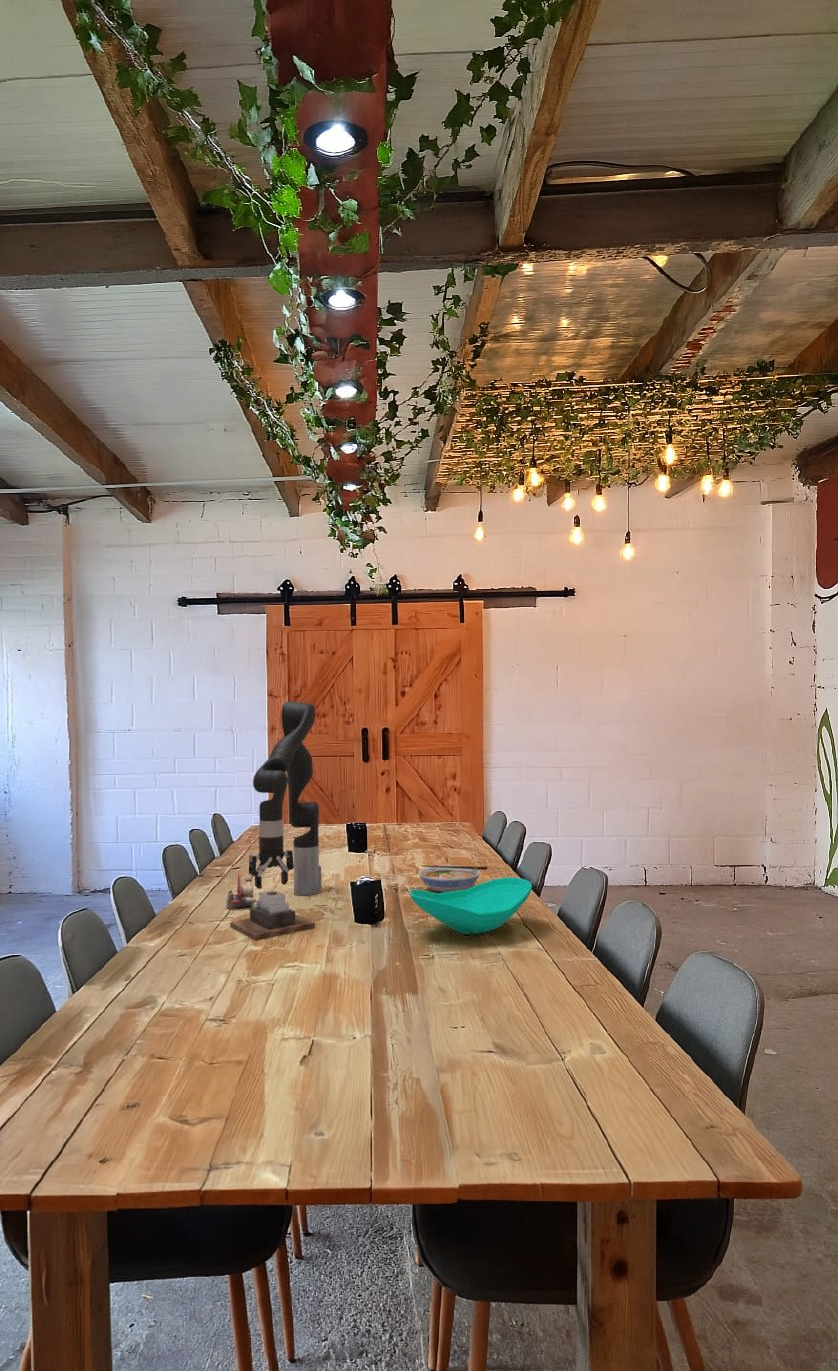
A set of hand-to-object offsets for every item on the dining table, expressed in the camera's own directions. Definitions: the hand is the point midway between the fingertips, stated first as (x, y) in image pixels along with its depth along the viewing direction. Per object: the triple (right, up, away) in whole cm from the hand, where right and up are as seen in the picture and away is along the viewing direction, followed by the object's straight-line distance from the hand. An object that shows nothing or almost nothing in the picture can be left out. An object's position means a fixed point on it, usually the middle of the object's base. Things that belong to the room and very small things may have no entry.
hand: (271, 886), depth 242 cm
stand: (0, -13, 0) cm, 13 cm away
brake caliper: (-15, -14, +25) cm, 33 cm away
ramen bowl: (+57, -13, +41) cm, 72 cm away
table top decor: (+62, -12, -7) cm, 64 cm away
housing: (0, -7, 0) cm, 7 cm away
